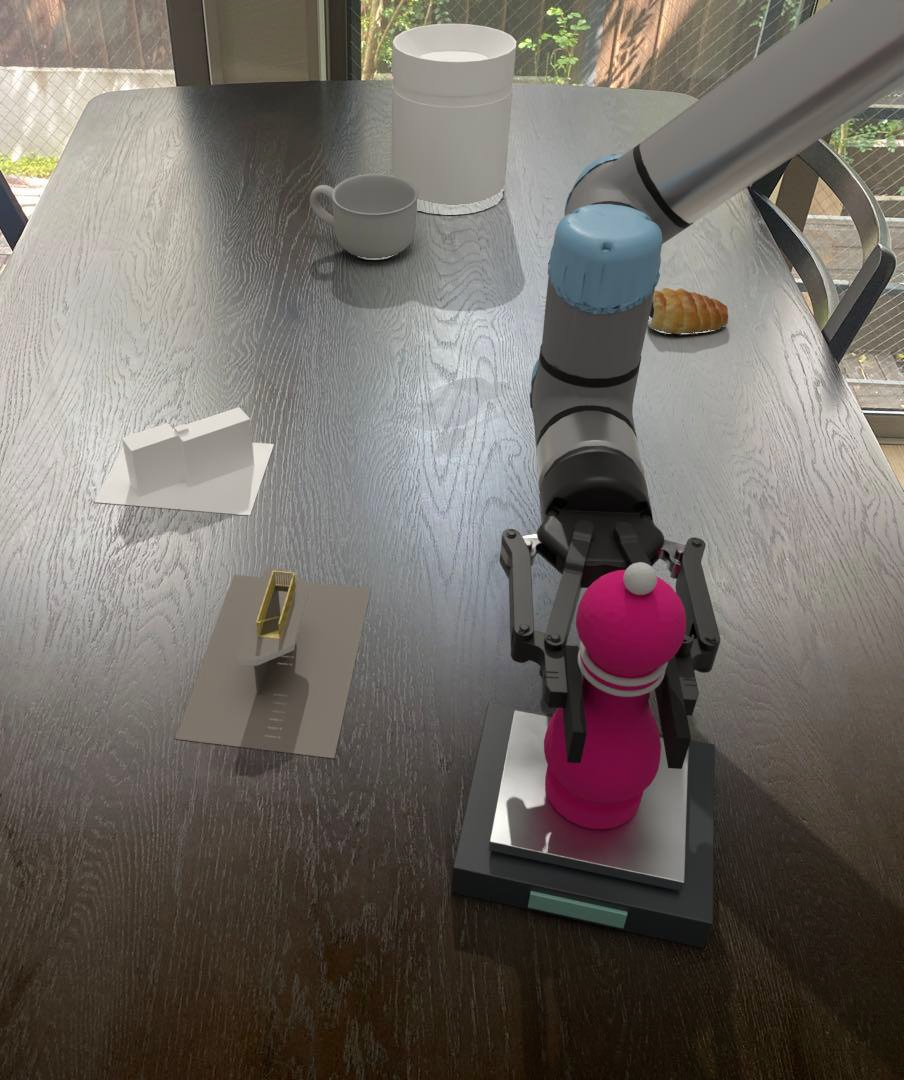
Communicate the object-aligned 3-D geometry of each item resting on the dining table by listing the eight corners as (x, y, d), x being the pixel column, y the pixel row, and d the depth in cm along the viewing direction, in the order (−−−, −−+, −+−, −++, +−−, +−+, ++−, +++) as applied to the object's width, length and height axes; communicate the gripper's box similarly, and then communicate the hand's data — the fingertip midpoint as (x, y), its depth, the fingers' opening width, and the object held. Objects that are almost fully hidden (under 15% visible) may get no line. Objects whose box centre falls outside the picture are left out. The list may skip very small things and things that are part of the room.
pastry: (718, 309, 127) (725, 279, 125) (732, 339, 122) (740, 309, 120) (638, 309, 127) (644, 280, 125) (649, 339, 122) (655, 309, 120)
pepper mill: (650, 844, 68) (718, 621, 55) (534, 829, 69) (573, 606, 56) (646, 752, 73) (707, 529, 60) (539, 739, 74) (575, 516, 61)
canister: (490, 222, 145) (502, 67, 132) (376, 207, 149) (376, 55, 136) (515, 176, 156) (528, 29, 143) (409, 163, 160) (412, 19, 147)
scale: (706, 770, 77) (715, 744, 76) (703, 952, 67) (713, 927, 65) (485, 728, 80) (488, 701, 79) (449, 896, 70) (452, 870, 68)
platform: (371, 588, 92) (371, 530, 88) (334, 758, 78) (332, 699, 74) (234, 574, 93) (227, 516, 89) (175, 738, 80) (163, 679, 76)
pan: (686, 751, 75) (689, 742, 74) (681, 891, 67) (684, 882, 66) (513, 719, 77) (514, 710, 76) (488, 850, 69) (489, 841, 68)
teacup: (431, 243, 140) (433, 184, 135) (390, 278, 133) (390, 216, 128) (340, 220, 146) (338, 162, 141) (295, 252, 139) (292, 192, 134)
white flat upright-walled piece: (274, 442, 108) (271, 394, 104) (251, 515, 99) (246, 466, 95) (128, 432, 109) (119, 384, 105) (93, 503, 101) (82, 454, 97)
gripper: (708, 534, 79) (776, 800, 62) (463, 523, 80) (461, 782, 63) (731, 451, 74) (811, 716, 57) (469, 441, 75) (469, 697, 58)
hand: (628, 750), depth 60 cm, fingers closed on pepper mill, 5 cm apart
